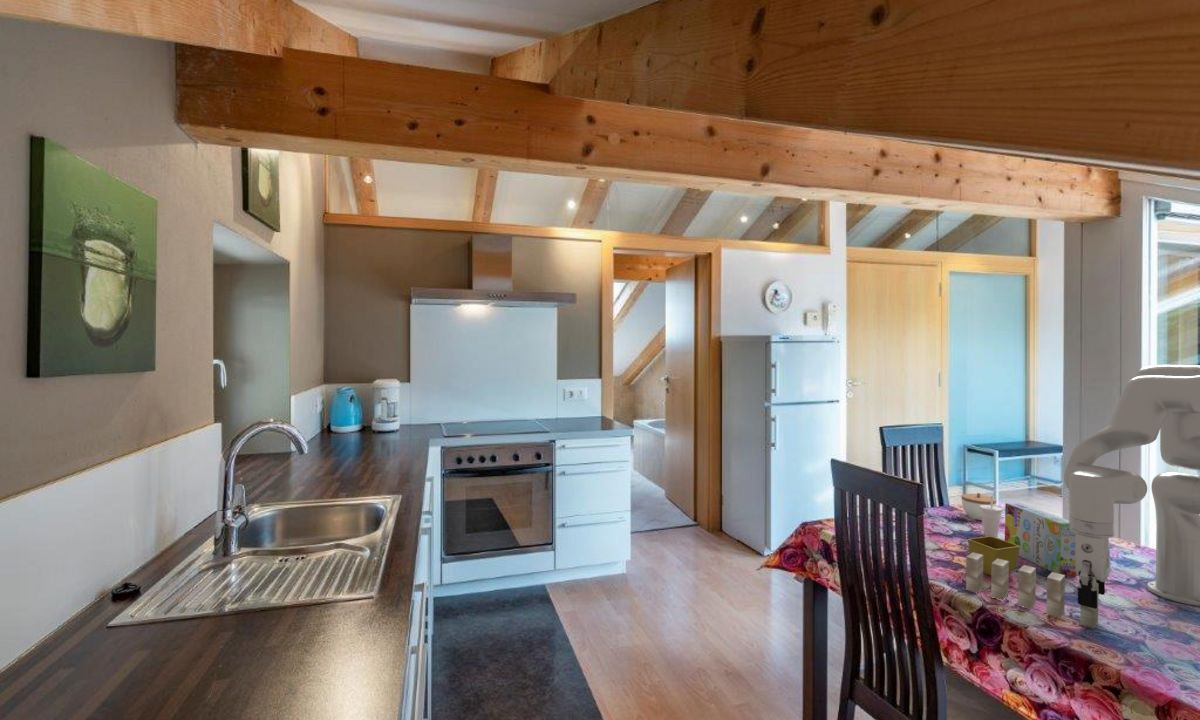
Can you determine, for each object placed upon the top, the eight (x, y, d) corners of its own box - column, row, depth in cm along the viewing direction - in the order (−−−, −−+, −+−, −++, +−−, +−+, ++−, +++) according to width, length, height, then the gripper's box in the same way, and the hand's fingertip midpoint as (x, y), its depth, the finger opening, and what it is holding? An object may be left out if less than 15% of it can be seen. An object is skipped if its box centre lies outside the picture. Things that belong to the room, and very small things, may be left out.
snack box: (1079, 577, 147) (1080, 523, 147) (1059, 576, 148) (1059, 523, 147) (1020, 548, 169) (1021, 501, 168) (1002, 548, 169) (1003, 501, 169)
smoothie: (983, 537, 178) (984, 496, 178) (976, 531, 185) (976, 491, 184) (1005, 539, 177) (1006, 498, 176) (997, 533, 183) (998, 493, 183)
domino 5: (1098, 621, 123) (1098, 583, 123) (1094, 628, 120) (1095, 589, 119) (1084, 617, 125) (1084, 580, 124) (1080, 624, 121) (1080, 586, 121)
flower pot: (996, 581, 144) (996, 549, 144) (966, 569, 153) (966, 538, 152) (1020, 578, 147) (1020, 546, 146) (989, 566, 155) (990, 535, 155)
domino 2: (1008, 595, 136) (1008, 561, 136) (1002, 601, 133) (1003, 566, 133) (997, 592, 138) (997, 558, 138) (991, 598, 135) (991, 563, 134)
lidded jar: (1001, 519, 198) (1001, 494, 198) (987, 524, 193) (987, 498, 193) (970, 512, 208) (970, 488, 207) (955, 516, 202) (955, 491, 202)
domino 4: (1064, 612, 127) (1064, 575, 127) (1059, 618, 124) (1060, 580, 124) (1051, 608, 129) (1052, 572, 129) (1046, 614, 126) (1047, 577, 126)
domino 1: (982, 588, 140) (983, 554, 140) (976, 594, 137) (977, 559, 137) (972, 585, 142) (972, 552, 142) (966, 590, 139) (966, 556, 139)
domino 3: (1035, 603, 132) (1035, 568, 131) (1030, 609, 128) (1030, 573, 128) (1023, 600, 133) (1023, 565, 133) (1018, 606, 130) (1018, 570, 130)
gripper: (1107, 539, 113) (1107, 618, 114) (1119, 521, 124) (1119, 593, 125) (1061, 531, 119) (1061, 605, 120) (1077, 514, 130) (1077, 582, 131)
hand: (1091, 599), depth 122 cm, fingers open, 9 cm apart
